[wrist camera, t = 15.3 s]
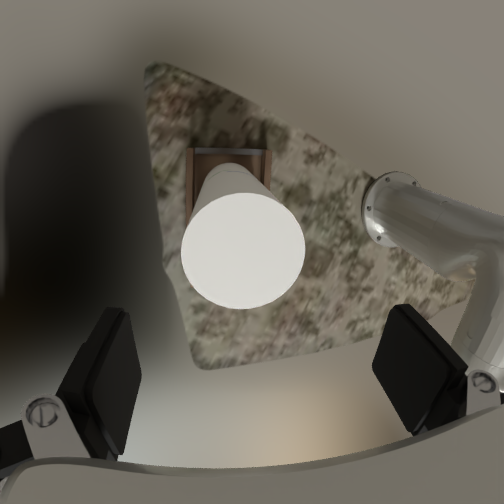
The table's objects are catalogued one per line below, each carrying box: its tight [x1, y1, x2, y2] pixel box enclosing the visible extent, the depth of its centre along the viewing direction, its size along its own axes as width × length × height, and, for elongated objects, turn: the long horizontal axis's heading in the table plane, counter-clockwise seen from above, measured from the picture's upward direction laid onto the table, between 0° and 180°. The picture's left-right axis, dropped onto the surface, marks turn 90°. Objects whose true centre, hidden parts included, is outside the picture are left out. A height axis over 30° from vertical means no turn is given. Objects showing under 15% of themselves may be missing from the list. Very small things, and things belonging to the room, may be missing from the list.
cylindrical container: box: [181, 163, 305, 309], centre depth 29 cm, size 7×7×25 cm
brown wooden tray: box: [186, 148, 272, 288], centre depth 38 cm, size 11×17×9 cm, turn 177°
